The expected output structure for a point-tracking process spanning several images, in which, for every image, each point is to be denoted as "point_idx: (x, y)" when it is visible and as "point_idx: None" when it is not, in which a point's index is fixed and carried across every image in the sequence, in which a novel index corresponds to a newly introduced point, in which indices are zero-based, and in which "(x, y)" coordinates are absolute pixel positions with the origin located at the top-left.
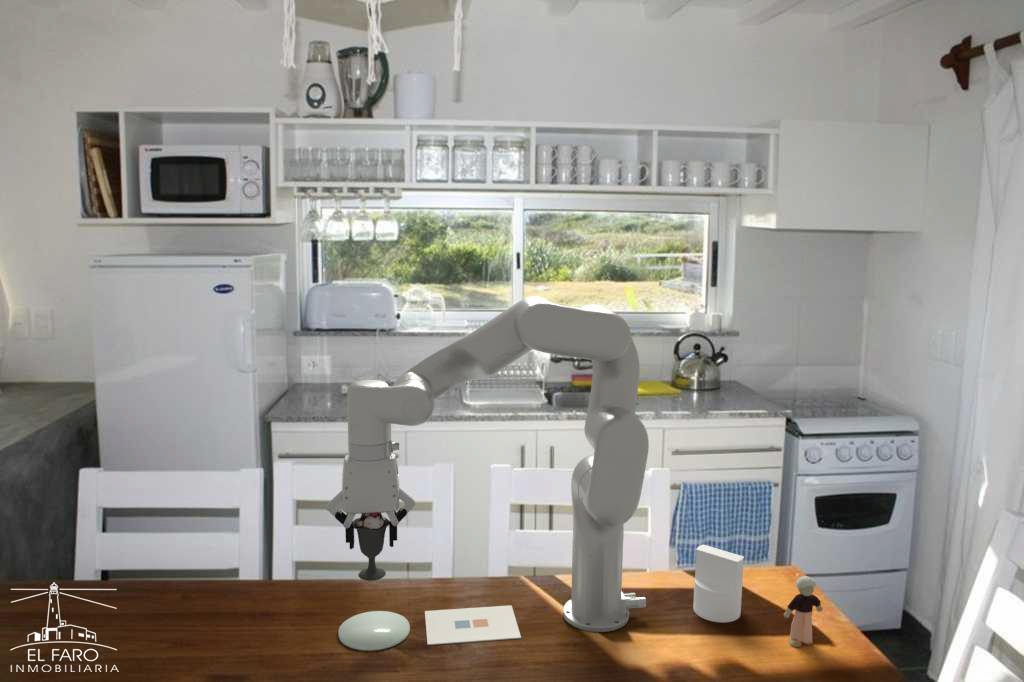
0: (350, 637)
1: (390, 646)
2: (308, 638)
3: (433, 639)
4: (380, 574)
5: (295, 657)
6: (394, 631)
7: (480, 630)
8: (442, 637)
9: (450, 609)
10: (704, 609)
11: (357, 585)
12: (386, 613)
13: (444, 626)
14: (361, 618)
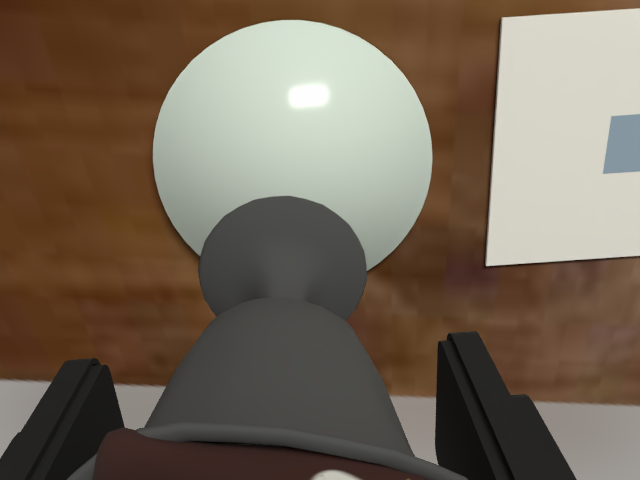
0: (211, 226)
1: None
2: (50, 196)
3: (510, 239)
4: (337, 306)
5: (49, 307)
6: (372, 194)
7: None
8: (543, 228)
9: (617, 11)
10: None
11: None
12: (334, 47)
13: (564, 154)
14: (230, 85)
